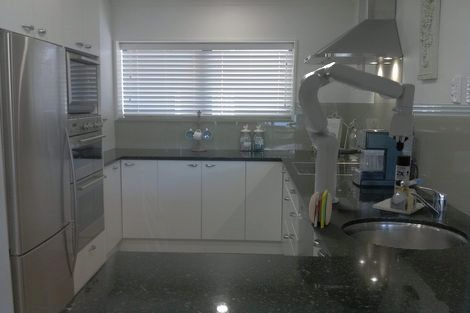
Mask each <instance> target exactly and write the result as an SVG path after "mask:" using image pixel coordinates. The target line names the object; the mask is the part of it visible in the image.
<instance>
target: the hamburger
mask: <svg viewBox="0 0 470 313" xmlns="http://www.w3.org/2000/svg"><path fill="white" fill-rule="evenodd" d="M327 193H328V194H327ZM312 195H313V196H312ZM312 195H311V196H312V198H311V197H310V201H309V205H308V217H309V220H310V221H311V222H312V223H313V224H314V228H317V226H318V223H319V225H320V229H324V226H327V225H328V224H329V223H330V220H331V216H332V211H333V210H332V208H333V203H332V199H331V194H330V193H329V192H328V190H325V192H322V194H321V200H320V198H319V197H320V193H318V192H316V193H314V194H312Z"/></svg>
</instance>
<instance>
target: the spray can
mask: <svg viewBox="0 0 470 313" xmlns="http://www.w3.org/2000/svg"><path fill="white" fill-rule="evenodd" d="M395 163H396V165H395V175H394V176H395V177H394V193H395V189H398V188H400V187H402V188H403V186H401V181H406V182H407V181H410V172H411V155H406V154H399V155H397V156H396V162H395ZM409 187H410V185H409V186H407V188H409ZM394 193H393V194H394Z"/></svg>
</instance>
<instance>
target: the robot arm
mask: <svg viewBox="0 0 470 313" xmlns="http://www.w3.org/2000/svg"><path fill="white" fill-rule="evenodd" d="M300 79H301V80H300V87H299V89H298V93H297V94H298V96H297V97H298V104H299V106H300V108H301V111H302V114H303V116H304V120H303V122H304V128H305V129H306V132H307V135H308V136H309V139H310V140H311V143H312V145H313V147H314V148H315V149H316V150H317V151H316V158H315V175H314V193H316V192H318V193H320V197H319V198H320V200H321V194H322V192H325V190H328V192H329V193H330V194H331V199H332V204H337V203H338V202H339V198H338V197H336V188H337V186H336V185H337V168H338V166H337V165H338V155H339V149H340V143H339V140H338V138H337V137H336V136H335V134H332V133H330V131H329V128H328V124H329V121H328V118H327V117H326V114H325V112H324V109H323V108H322V106H321V103H320V100H319V97H318V96H319V95H318V94H319V93H318V92H319V91H320V89H321V88H323V87H326V86H328V85H330V84H332V83H334V82H335V83H338V84H341V85H343V86H345V87H349V88H351V89H355V90H358V91H362V92H364V91H365V92H371V93H375V94H377V95H378V96H379V97H381V98H382V99H384V100H395V106H394V107H392V108H391V111H393V112H394V113H392V114H391V118H390V123H389V129H388V137H389V138H392V139H393V140H394V141H395V142H396V146H395V147H396V151H398V152H402V151H403V150H404V149H405V142H407V141H408V140H413V139H414V137H415V136H414V133H415V115H414V114H413V110H414V100H415V94H416V86H415V84H413V83H400V82H398V81H395V80H393V79H391V78H388V77H385V76H381V75H378V74H373V73H371V72H367V71H364V70H362V69H358V68H356V67H353V66H349V65H348V64H343V63H341V62H337V61H335V62H331V63H328V64H326V65H325V66H323V67H320V68H318V69H316V70H314V71H311V72H308V73H306V74H305V75H303V76H302V78H300ZM327 194H328V193H327ZM312 196H313V194H312V195H310V199H311V198H312Z"/></svg>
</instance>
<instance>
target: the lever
mask: <svg viewBox="0 0 470 313" xmlns="http://www.w3.org/2000/svg"><path fill="white" fill-rule="evenodd" d="M423 183H424V179H423V178H413V179H412V180H409V181H407V182H406V181H401V186H409V187H410V186H412V185H419V184H420V185H421V184H423Z"/></svg>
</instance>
